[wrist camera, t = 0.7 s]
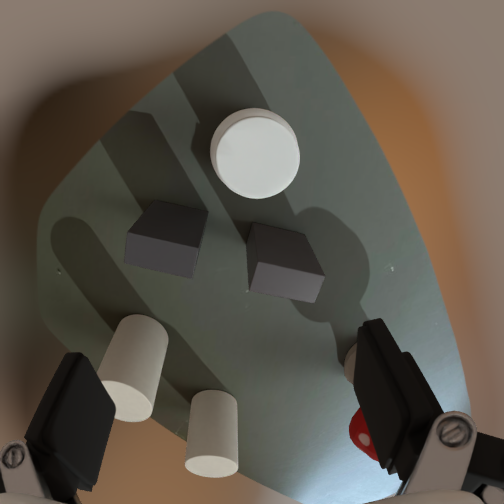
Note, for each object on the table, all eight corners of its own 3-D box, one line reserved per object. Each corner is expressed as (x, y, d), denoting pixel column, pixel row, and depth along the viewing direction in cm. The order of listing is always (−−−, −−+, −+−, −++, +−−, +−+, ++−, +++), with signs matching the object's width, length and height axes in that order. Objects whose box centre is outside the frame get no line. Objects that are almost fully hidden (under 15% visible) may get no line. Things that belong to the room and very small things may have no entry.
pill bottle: (207, 164, 27) (192, 193, 18) (227, 100, 25) (222, 94, 16) (271, 183, 28) (288, 221, 19) (293, 121, 26) (322, 127, 16)
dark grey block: (150, 224, 29) (123, 263, 21) (154, 199, 28) (126, 232, 21) (203, 236, 29) (192, 279, 22) (208, 211, 29) (198, 248, 21)
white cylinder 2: (188, 412, 40) (182, 473, 31) (194, 385, 38) (187, 451, 28) (231, 419, 41) (231, 479, 32) (241, 393, 38) (243, 459, 29)
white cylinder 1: (117, 348, 35) (92, 412, 26) (118, 308, 32) (86, 372, 23) (165, 360, 36) (150, 427, 27) (171, 321, 33) (153, 391, 24)
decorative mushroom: (342, 323, 34) (387, 432, 21) (406, 324, 35) (463, 417, 21) (320, 384, 38) (345, 485, 25) (378, 382, 39) (415, 471, 25)
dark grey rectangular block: (245, 245, 30) (248, 291, 23) (252, 221, 29) (257, 261, 22) (297, 257, 31) (314, 304, 23) (304, 234, 30) (326, 276, 23)
